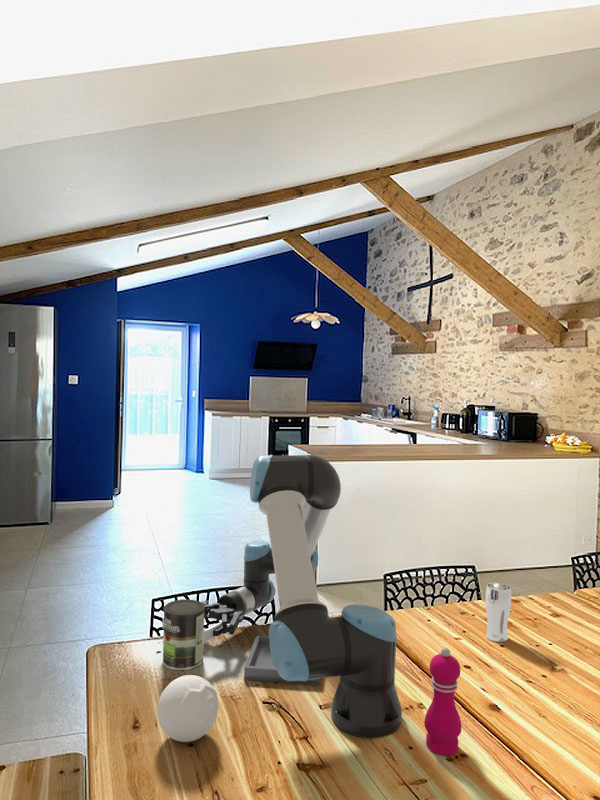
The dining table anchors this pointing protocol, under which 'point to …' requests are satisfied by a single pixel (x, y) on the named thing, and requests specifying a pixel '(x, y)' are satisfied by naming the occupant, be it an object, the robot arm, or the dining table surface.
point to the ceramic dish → (266, 664)
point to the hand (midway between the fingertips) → (182, 630)
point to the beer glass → (497, 611)
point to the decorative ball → (187, 708)
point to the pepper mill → (443, 705)
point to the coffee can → (183, 634)
